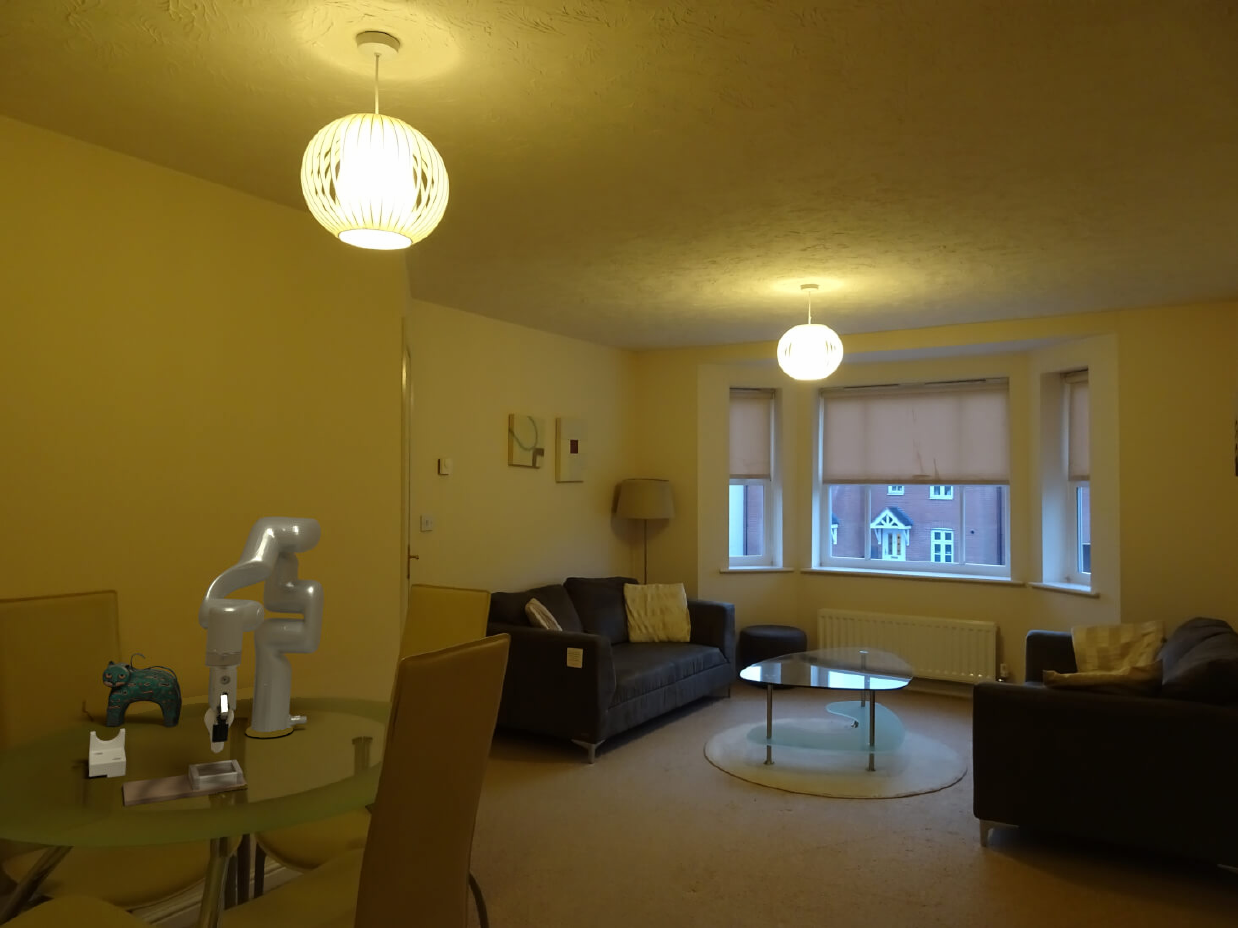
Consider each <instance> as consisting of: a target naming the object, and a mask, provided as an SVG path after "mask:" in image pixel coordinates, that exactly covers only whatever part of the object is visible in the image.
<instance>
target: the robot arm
mask: <svg viewBox="0 0 1238 928" xmlns="http://www.w3.org/2000/svg"><path fill="white" fill-rule="evenodd" d="M321 530H322V529H321V525H320V523H319V522H318V520H317V519H314V518H309V517H291V516H290V517H289V516H264V517H260V518H259V519H257V520H256V521H255V523H254V524H253V525H252V526H251V528H250V530H249V534H248V536H247V538H246V541H245V544H244V546H243V548H242V552H241V554H240V557H239V559H238V562H237V563H235V564H234V565H232V566H230V567H229V568H228V569H226V570H224V571H222V572H221V573H220V574H219V575H218V576H216V577H215V578H214V579H213V580H212V581H211V583H210V584H209V585H208V587H207V589H206V591H205V593H204V596H203V598H202V601H201V603H200V607H199V608H198V609H199V610H198V614H197V620H198V624H199V625H200V627H201V628H202V629H204V630H206V631H207V632H206V644H205V645H206V646H205V656H204V657H205V660H204V666H205V668H209V676H208V694H207V695H208V698H207V701H208V705H209V708H210V707H211V709H212V710H213V711H214V712H215V723H214V724H213V731H212V742H213V743H216V742H224V743H225V742H227V741H228V739H229V738H228V737H229V728H230V727H229V723H228V716H229V707H230V709H232V710H233V711H235V710H236V709H237V686H238V685H237V683H238V682H237V681H238V673H237V672H238V671H237V670H238V669H237V667H239V666H241V663H242V651H243V637H244V635H243V634H244V633H248V632H249V633H250V632H253V645H254V654H255V655H254V658H255V662H254V663H255V664H254V667H255V668H254V679H253V680H254V682H253V695H252V697H253V698H252V710H251V711H252V712H251V729H252V730H255V731H259V732H271V731H276V730H284V729H286V728H291V726H295V725H297V724H300V725H301V724H306V723H307V715H304V716H302V715H292V714H290V703H291V690H292V674H293V673H292V672H293V670H292V664H291V663H290V660H289V658H288V657H287V656H286V654H303V655H304V654H305V655H306V654H313V653H315V652H317V650H318V648H319V646H320V643H321V637H322V625H323V613H324V612H323V611H324V600H325V598H324V597H325V595H324V593H325V592H324V588H323V586H322V583H320V582H319V581H318V580H314V579H300V578H298V576H299V574H298V573H299V559H298V557H297V554H296V553H299V554H300V553H301V554H302V553H305V552H308V551H310V550H313V549H315V547H317V545H318V544H319V543H320V540H321V537H322V536H321V535H322V531H321ZM261 582H264V585H263V595H262V596H263V597H262V598H263V601H262V604H261V603H260V602H259V601H256V600H251V599H234V598H232V599H231V598H225V597H226V596H228V595H230V594H232V593H233V592H235V591H238V590H241V589H243V588H246V587H249V586H253V585H256V584H258V583H261ZM265 610H266V611H268V612H271V613H278V614H298V615H299V614H300V615H302V616H303V618H289V617H268V618H267V617H266V618H265V616H266V615H265ZM217 708H221V710H217ZM218 713H220V715H219V716H218ZM228 727H229V728H228ZM208 736H210V733H209V732H208Z"/></svg>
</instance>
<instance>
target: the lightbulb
mask: <svg viewBox="0 0 1238 928" xmlns="http://www.w3.org/2000/svg"><path fill="white" fill-rule="evenodd" d="M217 710H221V708H217ZM219 715H220V713H218V716H219ZM234 717H235V715H234V710H232V709H230V707H229V716H228V723H229V727H228V729H229V728H230V727H231V725H232V723H233V721H234ZM203 720H204V724H205V726H206V728H207V730H208V734H209V733H210V735H209V741H210V751H212V752H214V753H215V754H219V753H220V752H221V751H222V750H224V744H225V742H216V743H213V742H212V731H213V724H214V723H215V712H214V711H213V710H212V709H211V707H210V706H209V708H208V709H207V711H206V712H205V714H204V719H203Z"/></svg>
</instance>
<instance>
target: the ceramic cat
mask: <svg viewBox="0 0 1238 928" xmlns="http://www.w3.org/2000/svg"><path fill="white" fill-rule="evenodd" d="M137 655H138V656H140V657H142V658H143V659H146V657H145V656H144V654H143V653H139V652H138V653H134V654H132V655H131V658H130V663H127V662H119V663H115V661H113V660H110V661H108V664H107V667H106V668H105V669H104V670H103V672H102V679H101V680H102V681H103V685H105V686H106V687H108V688H110V692H109V694H108V698H107V699H108V700H107V707H106V710H105V711H106V724H105V727H106V728H108V727H109V728H117V727H121V726H122V725H123V724H125V715H126V713H127V710H128V708H129V706H130V705H132V704H134V703H138V702H151V703H154V704H157V705H158V706H159V708H160V710H161V713H162V718H163V726H164V727H165V728H174V727H176V726H177V725H178V724H179V720H180V715H181V711H182V705H183V699H182V692H181V691H182V690H181V687H180V683H179V682H178V677H177V674H176V673H175V672H174V670H173V669H172V668H169V667H166V666H163V665H154V666H149V667H146V668H143V669H142V668H141V669H138V668H136V667H134V666H133V662H132V660H133V657H134V656H137ZM158 668H160V669H158ZM164 669H165V670H164ZM168 671H170V672H171V673H170V672H168Z"/></svg>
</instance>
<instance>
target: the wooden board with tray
mask: <svg viewBox="0 0 1238 928" xmlns="http://www.w3.org/2000/svg"><path fill="white" fill-rule="evenodd" d="M188 766H189V767H188V774H183V775H176V776H168V777H167V776H166V777H160V778H152V779H145V780H137V781H135V780H134V781H128V782H123V783H122V793H123V801H124V806H125V807H128V806H135V805H136V806H137V805H142V804H144V805H145V804H149V803H150V804H151V803H157V802H163V801H164V802H165V801H171V800H177V799H178V800H180V799H187V798H194V797H199V796H202V797H203V796H207V795H214V794H215V793H216V794H219V793H218V792H222V791H225V790H231V789H233V788H237V787H240V786H244V785H245V784H248V782H247V781H246V779H245V776H244V772H243V770H242V768H241V766H240V764H239V761H237V759H231V760H230V759H229V760H221V761H214V762H206V763H205V762H204V763H197V764H190V765H188Z"/></svg>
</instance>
